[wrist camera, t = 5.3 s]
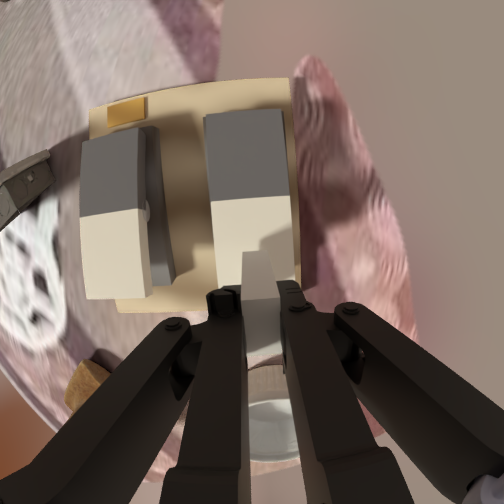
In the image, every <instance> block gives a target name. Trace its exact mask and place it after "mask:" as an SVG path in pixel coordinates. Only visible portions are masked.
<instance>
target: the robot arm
mask: <svg viewBox="0 0 504 504" xmlns="http://www.w3.org/2000/svg"><path fill="white" fill-rule="evenodd" d="M0 1H1V2H7V1H10V0H0ZM206 301H207V307H208V314H209V316H208V320H207V321H205V322H203V323H200V324H196V325H192V326H190V322H189V320H187V319H186V318H182V317H172V318H168V319H166V320H163V321H162V322H160V323H159V324H158V325H157V326H156V327H155V328H154V329H153V330H152V331H151V332H150V333H149V334H148V335H147V336H146V337H145V338H144V340H143V341H142V342H141V343H140V344H139V345H138V346H137V347H136V348H135V349H134V350H133V351H132V352H131V353H130V354H129V355H128V356H127V357H126V359H125V360H124V361H123V362H122V363H121V364H120V365H119V366H118V367H117V368H116V369H115V370H114V371H113V372H112V373H111V375H110V376H109V377H108V378H107V379H106V380H105V381H104V382H103V383H102V384H101V385H100V386H99V387H98V388H97V390H96V391H95V392H94V393H93V394H92V395H91V396H90V397H89V398H88V399H87V400H86V402H85V403H84V404H83V405H82V406H81V407H80V408H79V409H78V410H77V411H76V412H75V414H74V415H73V416H72V417H71V418H70V419H69V420H68V421H67V422H66V423H65V425H64V426H63V427H62V428H61V429H60V430H59V431H58V432H57V433H56V435H55V436H54V437H53V438H52V439H51V440H50V441H49V442H48V444H47V445H46V446H45V447H44V448H43V449H42V451H40V453H39V454H38V455H37V456H36V457H35V458H34V459H33V461H32V462H31V463H30V464H29V465H27V466H25V467H24V468H22V469H20V470H18V471H16V472H14V473H12V474H11V475H9V476H7V477H5V478H3V479H1V480H0V504H129V502H130V501H131V499H132V497H133V496H134V494H135V492H136V491H137V489H138V487H139V485H140V484H141V482H142V481H143V479H144V477H145V475H146V474H147V472H148V470H149V469H150V467H151V465H152V463H153V462H154V460H155V458H156V457H157V455H158V453H159V451H160V450H161V448H162V446H163V444H164V443H165V441H166V439H167V437H168V436H169V434H170V432H171V430H172V429H173V427H174V425H175V423H176V422H177V420H178V418H179V416H180V415H181V413H182V411H183V409H184V408H185V406H186V404H187V402H188V400H189V399H190V401H189V406H188V411H187V416H186V421H185V426H184V431H183V436H182V441H181V447H180V452H179V457H178V462H177V465H176V466H175V467H173V468H169V469H168V471H167V472H166V475H165V478H164V481H163V487H162V492H161V497H160V502H159V504H251V476H250V441H249V401H248V363H247V357H252V356H265V355H276V354H282V351H283V374H285V376H286V382H287V387H288V393H289V398H290V404H291V409H292V415H293V421H294V426H295V432H296V438H297V443H298V449H299V455H300V461H301V467H302V473H303V479H304V485H305V490H306V496H307V504H414V501H413V499H412V496H411V494H410V491H409V489H408V486H407V484H406V482H405V479H404V477H403V475H402V472H401V470H400V468H399V465H398V463H397V461H396V458H395V456H394V455H393V453H392V451H391V450H390V449H389V448H387V447H379V446H378V445H377V443H376V441H375V439H374V437H373V434H372V432H371V430H370V427H369V425H368V423H367V420H366V418H365V416H364V413H363V411H362V409H361V406H360V404H359V402H358V399H359V400H360V401H361V403H362V404H363V405H364V406H365V407H366V408H367V410H368V411H369V412H370V413H371V414H372V415H373V417H374V418H375V419H376V420H377V421H378V422H379V424H380V425H381V426H382V427H383V428H384V429H385V431H386V432H387V433H388V434H389V435H390V436H391V438H392V439H393V440H394V441H395V442H396V443H397V444H398V446H399V447H400V448H401V449H402V450H403V451H404V453H405V454H406V455H407V456H408V457H409V458H410V460H411V461H412V462H413V463H414V464H415V465H416V466H417V468H418V469H419V470H420V471H421V472H422V473H423V474H424V475H425V477H426V478H427V479H428V480H429V481H430V482H431V483H432V484H433V486H434V487H435V488H436V489H437V490H438V491H439V492H440V493H441V494H442V495H444V496H445V497H447V498H448V499H449V500H451V501H452V502H454V503H456V504H504V410H503V409H502V408H500V407H499V406H498V405H496V404H495V403H494V402H493V401H491V400H490V399H489V398H487V397H486V396H485V395H484V394H482V393H481V392H480V391H478V390H477V389H476V388H475V387H473V386H472V385H471V384H470V383H468V382H467V381H466V380H464V379H463V378H462V377H460V376H459V375H458V374H456V373H455V372H454V371H452V370H451V369H450V368H448V367H447V366H446V365H445V364H443V363H442V362H440V361H439V360H438V359H437V358H435V357H434V356H433V355H431V354H430V353H428V352H427V351H426V350H424V349H423V348H422V347H420V346H419V345H418V344H416V343H415V342H414V341H412V340H411V339H410V338H408V337H407V336H405V335H404V334H403V333H401V332H400V331H399V330H397V329H396V328H394V327H393V326H392V325H390V324H389V323H388V322H386V321H385V320H383V319H382V318H381V317H379V316H378V315H376V314H375V313H374V312H372V311H371V310H370V309H368V308H367V307H365V306H364V305H362V304H359V303H355V302H346V303H341V304H339V305H337V306H336V307H335V310H334V313H323V312H318V311H317V310H316V308H315V306H314V305H313V304H312V303H310V302H308V301H306V299H305V296H304V294H303V292H302V290H301V288H300V285H299V283H297V282H296V281H294V280H281V281H276V280H275V276H274V272H273V269H272V265H271V262H270V258H269V254H268V251H267V250H259V251H246V252H242V277H241V285H227V286H223V287H221V288H220V289H216V290H212V291H211V292H209V293H208V294H207V295H206ZM362 351H363V353H364V354H363V353H362ZM357 398H358V399H357Z"/></svg>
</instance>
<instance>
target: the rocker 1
mask: <svg viewBox="0 0 504 504" xmlns="http://www.w3.org/2000/svg"><path fill="white" fill-rule="evenodd" d="M145 152H146V134H145V133H144V132H143V131H142V130H141V129H140V128H139V127H137V128H132V129H128V130H124V131H120V132H116V133H112V134H108V135H104V136H101V137H97V138H94V139H90V140H87V141H84V142H82V154H81V168H80V238H81V253H82V264H83V274H84V282H85V290H86V297H87V299H131V298H146V297H148V296H150V295H152V294H153V288H152V279H151V270H150V259H149V248H148V234H147V222H148V221H149V219H150V207H149V204H148V202H147V200H146V186H145Z"/></svg>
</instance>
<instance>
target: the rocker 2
mask: <svg viewBox="0 0 504 504" xmlns="http://www.w3.org/2000/svg"><path fill="white" fill-rule="evenodd" d="M206 135H207V154H208V171H209V186H210V200H211V213H212V226H213V237H214V249H215V259H216V270H217V280H218V289H220V288H221V287H223V286H227V285H241V277H242V252H246V251H259V250H267V251H268V254H269V258H270V262H271V265H272V269H273V272H274V276H275V280H276V281H281V280H294V281H295V266H294V248H293V233H292V219H291V206H290V193H289V182H288V171H287V160H286V150H285V141H284V132H283V123H282V114H281V109H261V110H245V111H232V112H222V113H213V114H206Z"/></svg>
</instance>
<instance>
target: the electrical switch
mask: <svg viewBox="0 0 504 504" xmlns="http://www.w3.org/2000/svg"><path fill="white" fill-rule="evenodd" d="M49 157H50V153H49V152H48V150H47V149H46V150H44V151H41V152H39V153H37V154H34V155H32V156H30V157H28V158H26V159H24V160H22V161H20V162H18V163H16V164H14V165H12V166H11V167H9V168H7V169H5V170H3V171H2V172H1V173H0V231H2V230H3V229H4V228H5V227H6V226H7V225H8V224H9V223H10V222H11V221H13V220H14V219H15V218H16V217H17V216H18V215H20V213H21V212H22V211H23V210H24V209H25V208H26V207H27V206H28V205H29V204H30V203H31V202H32V201H33V200H35V199H36V198H37V197H38V196H39V195H40V194H41V193H42V192H43V191H44V190H45V189H46V188H48V187H49V186H50V185H51V184H52V183H54V182H55V181H56V180H55V178H54V177H53V175H52V173H51V171H50V167H49V166H48V164H47V161H46V160H47V159H48V158H49ZM19 212H20V213H19Z"/></svg>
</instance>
